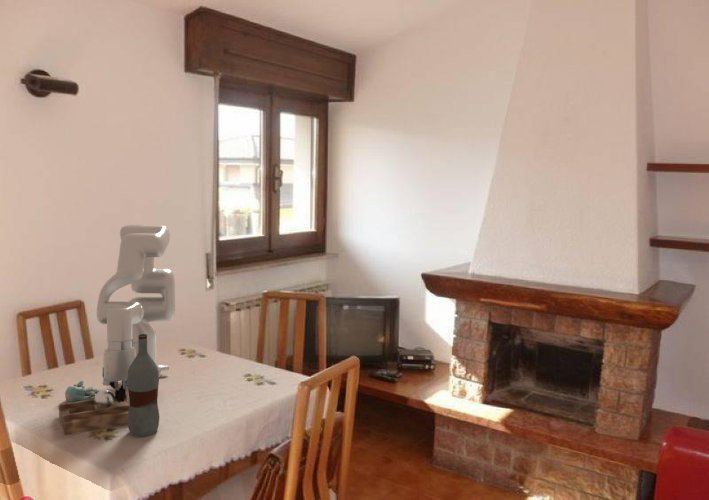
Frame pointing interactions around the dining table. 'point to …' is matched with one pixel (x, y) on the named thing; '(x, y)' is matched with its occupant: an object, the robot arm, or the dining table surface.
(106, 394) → the steel ball
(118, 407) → the wooden box
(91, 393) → the stuffed animal
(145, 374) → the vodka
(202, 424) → the dining table surface
